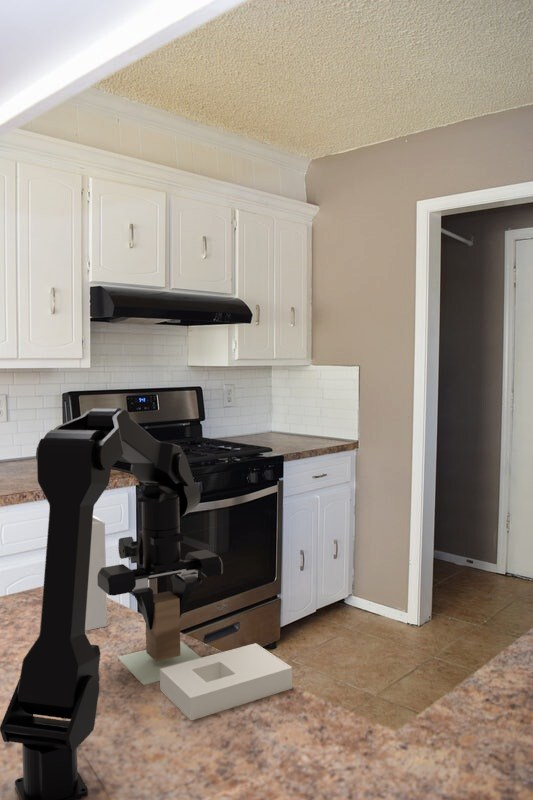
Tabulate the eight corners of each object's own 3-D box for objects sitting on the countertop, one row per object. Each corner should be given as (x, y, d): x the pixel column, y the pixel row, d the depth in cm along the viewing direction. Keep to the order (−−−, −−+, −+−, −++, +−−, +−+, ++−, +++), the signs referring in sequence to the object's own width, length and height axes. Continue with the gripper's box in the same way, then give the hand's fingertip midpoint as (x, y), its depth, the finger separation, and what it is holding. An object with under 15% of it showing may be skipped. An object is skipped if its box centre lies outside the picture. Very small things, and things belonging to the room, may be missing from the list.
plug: (180, 655, 105) (179, 598, 105) (156, 661, 103) (155, 603, 102) (169, 646, 108) (168, 591, 108) (146, 652, 106) (145, 595, 106)
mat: (211, 669, 104) (211, 665, 104) (143, 688, 98) (143, 684, 98) (180, 644, 113) (180, 641, 113) (117, 660, 108) (117, 656, 108)
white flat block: (292, 691, 97) (292, 667, 97) (190, 724, 89) (190, 697, 88) (256, 665, 105) (255, 643, 105) (160, 692, 97) (159, 668, 97)
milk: (73, 633, 119) (69, 509, 117) (65, 622, 124) (61, 502, 122) (108, 626, 122) (104, 504, 120) (98, 615, 127) (95, 498, 125)
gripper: (192, 509, 116) (194, 598, 117) (85, 524, 106) (87, 621, 107) (223, 522, 107) (225, 619, 108) (109, 539, 97) (111, 646, 98)
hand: (162, 625), depth 105 cm, fingers closed on plug, 4 cm apart
